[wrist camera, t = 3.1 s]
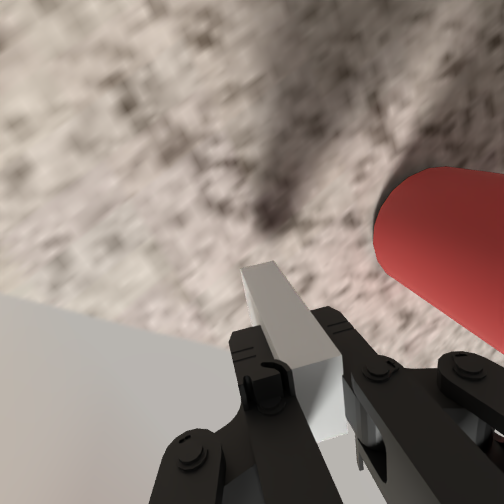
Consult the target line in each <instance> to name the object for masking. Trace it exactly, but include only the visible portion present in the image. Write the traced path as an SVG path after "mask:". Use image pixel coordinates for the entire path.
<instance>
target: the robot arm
mask: <svg viewBox="0 0 504 504" xmlns="http://www.w3.org/2000/svg"><path fill="white" fill-rule="evenodd" d="M240 270H241V276H242V281H243V286H244V291H245V296H246V301H247V306H248V311H249V316H250V321H251V324H252V327H250V328H246V329H242V330H238V331H234V332H232V335H231V337H230V340H229V346H230V351H231V355H232V359H233V364H234V368H235V373H236V377H237V381H238V387H239V391H240V396H241V406H240V409H239V411H238V413H237V415H236V416H235V417H234V418H233V420H232V421H231V422H230V423H228V424H227V425H226V426H224V427H223V428H221V429H220V430H218V431H217V432H215V433H213V432H211V431H209V430H208V429H198V428H197V429H193V430H189V431H186V432H184V433H183V434H181V435H179V436H178V437H176V438H175V439H174V440H173V441H172V443H171V444H170V445H169V446H168V447H167V449H166V451H165V453H164V455H163V457H162V461H161V464H160V467H159V471H158V474H157V477H156V480H155V484H154V487H153V491H152V494H151V497H150V501H149V504H343V502H342V500H341V497H340V495H339V493H338V490H337V488H336V486H335V484H334V481H333V479H332V477H331V474H330V472H329V470H328V468H327V466H326V463H325V461H324V459H323V456H322V454H321V452H320V450H319V447H318V445H317V443H318V442H322V441H325V440H328V439H331V438H334V437H337V436H340V435H344V434H347V433H348V426H347V420H348V422H349V423H350V425H351V426H352V428H353V430H354V432H355V438H356V454H357V463H358V467H359V470H360V471H361V470H363V461H364V462H365V464H366V466H367V468H368V470H369V471H370V473H371V475H372V477H373V479H374V480H375V482H376V484H377V486H378V488H379V489H380V491H381V493H382V495H383V497H384V498H385V500H386V502H387V504H504V437H502V436H500V435H498V434H497V433H495V432H494V430H495V429H496V430H497V431H499V432H500V433H501V434H503V435H504V367H502V366H500V365H498V364H496V363H494V362H492V361H491V360H489V359H487V358H485V357H482V356H480V355H477V354H475V353H469V352H464V351H457V352H449V353H446V354H443V355H442V356H441V357H440V358H439V359H438V367H437V368H425V369H410V368H404V367H403V366H402V365H401V364H399V363H398V362H397V361H395V360H394V359H392V358H389V357H386V356H383V355H378V354H377V353H376V352H375V351H374V350H373V349H372V347H371V346H370V345H369V344H368V343H367V342H366V341H365V339H364V338H363V337H362V336H361V335H360V334H359V333H358V332H357V330H356V329H354V327H353V326H352V325H351V324H350V323H349V322H348V320H347V319H346V318H345V317H344V316H343V315H342V314H341V312H339V311H337V310H335V309H333V308H331V307H329V306H326V307H322V308H319V309H315V310H311V311H310V310H309V309H308V307H307V306H306V305H305V303H304V302H303V301H302V299H301V298H300V296H299V295H298V294H297V292H296V291H295V289H294V288H293V287H292V285H291V284H290V282H289V281H288V280H287V278H286V277H285V276H284V274H283V273H282V271H281V270H280V269H279V267H278V266H277V264H276V263H275V262H274V261H270V262H266V263H262V264H258V265H253V266H249V267H245V268H241V269H240Z"/></svg>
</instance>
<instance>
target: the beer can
mask: <svg viewBox="0 0 504 504" xmlns="http://www.w3.org/2000/svg"><path fill="white" fill-rule="evenodd" d="M373 245H374V249H375V253H376V257H377V260H378V262H379V264H380V265H381V266H382V268H383V269H384V271H385V272H386V273H387V274H388V275H389V276H391V277H392V278H394V279H395V280H397V281H398V282H400V283H401V284H402V285H404V286H405V287H407V288H408V289H410V290H411V291H413V292H414V293H415V294H417V295H418V296H420V297H421V298H423V299H424V300H426V301H427V302H429V303H430V304H431V305H433V306H434V307H436V308H437V309H439V310H440V311H442V312H443V313H444V314H446V315H447V316H449V317H450V318H452V319H453V320H455V321H456V322H457V323H459V324H460V325H462V326H463V327H465V328H466V329H468V330H469V331H470V332H472V333H473V334H475V335H476V336H478V337H479V338H481V339H482V340H484V341H485V342H486V343H488V344H489V345H491V346H492V347H494V348H495V349H497V350H498V351H499V352H501V353H502V354H504V174H500V173H492V172H485V171H477V170H469V169H462V168H454V167H447V166H445V167H435V168H427V169H425V170H423V171H421V172H419V173H416V174H414V175H412V176H410V177H408V178H407V179H405V180H404V181H403V182H402V183H401V184H400V185H398V186H397V187H396V188H395V189H394V190H393V191H392V192H391V193H390V195H389V196H388V198H387V199H386V201H385V202H384V204H383V205H382V206H381V208H380V211H379V214H378V217H377V219H376V222H375V225H374V236H373Z"/></svg>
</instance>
